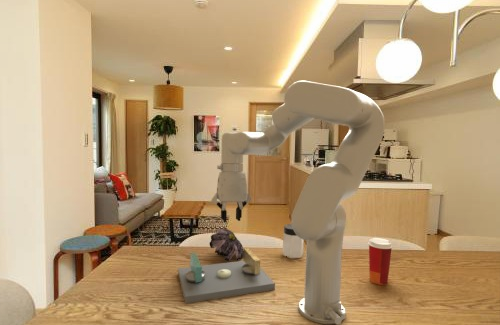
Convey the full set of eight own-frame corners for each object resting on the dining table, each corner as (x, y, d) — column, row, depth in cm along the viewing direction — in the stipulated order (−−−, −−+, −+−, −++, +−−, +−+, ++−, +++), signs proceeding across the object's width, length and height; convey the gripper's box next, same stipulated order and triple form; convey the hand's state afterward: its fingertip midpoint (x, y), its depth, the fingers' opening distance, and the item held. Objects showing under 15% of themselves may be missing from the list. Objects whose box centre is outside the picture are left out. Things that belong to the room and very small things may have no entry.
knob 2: (265, 277, 96) (266, 259, 96) (248, 280, 94) (248, 261, 94) (253, 263, 107) (253, 247, 107) (237, 265, 105) (238, 248, 105)
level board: (274, 289, 93) (275, 278, 93) (185, 303, 84) (185, 291, 83) (253, 264, 112) (253, 255, 112) (178, 273, 102) (178, 264, 102)
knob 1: (208, 285, 90) (208, 266, 89) (188, 288, 88) (188, 268, 87) (201, 269, 101) (201, 252, 101) (184, 272, 99) (184, 254, 99)
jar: (307, 255, 122) (308, 227, 121) (294, 260, 117) (295, 230, 116) (291, 249, 129) (292, 222, 128) (278, 253, 124) (279, 225, 123)
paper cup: (388, 277, 103) (390, 238, 102) (392, 288, 95) (395, 246, 95) (364, 274, 105) (366, 236, 104) (367, 284, 98) (369, 243, 97)
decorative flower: (224, 241, 108) (210, 221, 120) (212, 268, 110) (199, 245, 122) (255, 245, 116) (239, 226, 129) (243, 270, 118) (228, 248, 130)
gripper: (210, 169, 95) (209, 225, 96) (258, 169, 101) (257, 221, 102) (205, 167, 102) (205, 219, 103) (251, 167, 108) (250, 216, 109)
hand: (231, 219), depth 102 cm, fingers open, 4 cm apart
